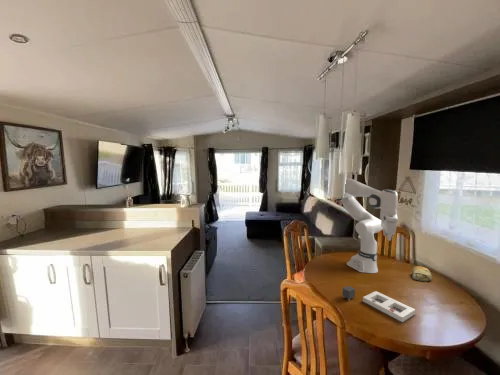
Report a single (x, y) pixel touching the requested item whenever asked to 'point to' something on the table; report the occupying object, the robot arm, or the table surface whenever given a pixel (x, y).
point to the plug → (348, 292)
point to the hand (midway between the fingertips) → (387, 238)
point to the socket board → (389, 306)
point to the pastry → (421, 273)
